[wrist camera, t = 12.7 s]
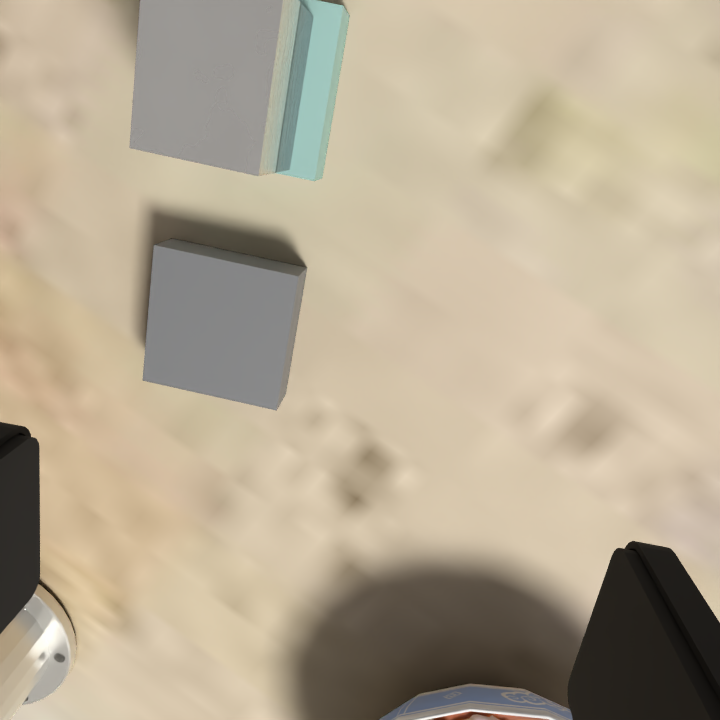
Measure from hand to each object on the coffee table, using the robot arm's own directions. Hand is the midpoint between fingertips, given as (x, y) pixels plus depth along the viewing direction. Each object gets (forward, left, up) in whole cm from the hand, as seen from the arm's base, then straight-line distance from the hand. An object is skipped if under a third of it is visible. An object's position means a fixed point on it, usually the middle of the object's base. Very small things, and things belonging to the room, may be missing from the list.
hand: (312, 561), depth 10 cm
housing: (-9, +7, -24) cm, 27 cm away
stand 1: (-9, -5, -27) cm, 29 cm away
